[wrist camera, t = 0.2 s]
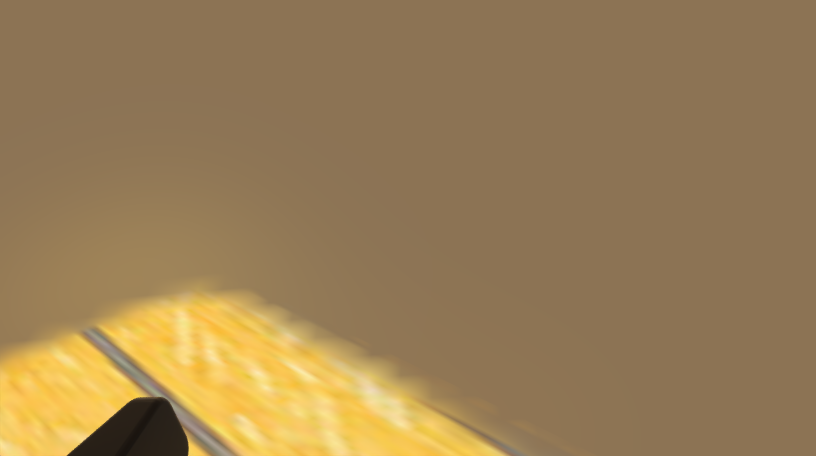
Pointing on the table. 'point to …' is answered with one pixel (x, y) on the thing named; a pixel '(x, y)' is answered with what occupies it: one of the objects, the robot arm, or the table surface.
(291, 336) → the table surface
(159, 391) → the table surface
